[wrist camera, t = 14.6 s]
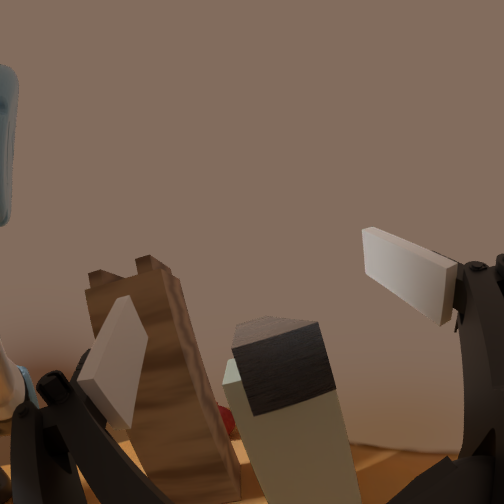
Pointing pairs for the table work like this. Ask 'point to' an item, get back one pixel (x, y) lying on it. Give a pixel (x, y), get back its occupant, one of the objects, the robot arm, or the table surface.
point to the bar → (281, 362)
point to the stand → (171, 390)
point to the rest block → (296, 447)
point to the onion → (227, 418)
